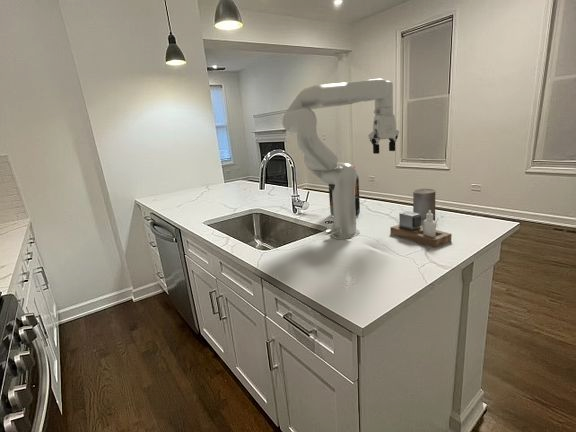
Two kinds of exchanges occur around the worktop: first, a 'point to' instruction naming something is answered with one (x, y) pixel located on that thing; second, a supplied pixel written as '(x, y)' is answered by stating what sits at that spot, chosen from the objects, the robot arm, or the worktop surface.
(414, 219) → the block
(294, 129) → the robot arm
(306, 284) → the worktop surface
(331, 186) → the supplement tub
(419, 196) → the pillar candle
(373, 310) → the worktop surface
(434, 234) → the eye dropper bottle
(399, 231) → the wooden tray
